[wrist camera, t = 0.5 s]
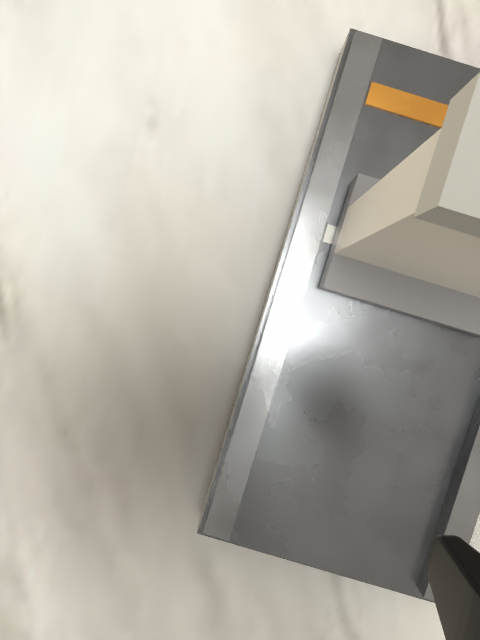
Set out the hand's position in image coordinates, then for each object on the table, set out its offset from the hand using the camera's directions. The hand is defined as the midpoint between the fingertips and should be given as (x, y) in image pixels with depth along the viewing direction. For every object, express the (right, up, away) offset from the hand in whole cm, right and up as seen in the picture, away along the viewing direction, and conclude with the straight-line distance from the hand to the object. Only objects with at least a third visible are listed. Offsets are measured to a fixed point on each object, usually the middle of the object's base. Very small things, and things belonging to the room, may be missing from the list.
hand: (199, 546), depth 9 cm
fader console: (+8, +4, +14) cm, 17 cm away
